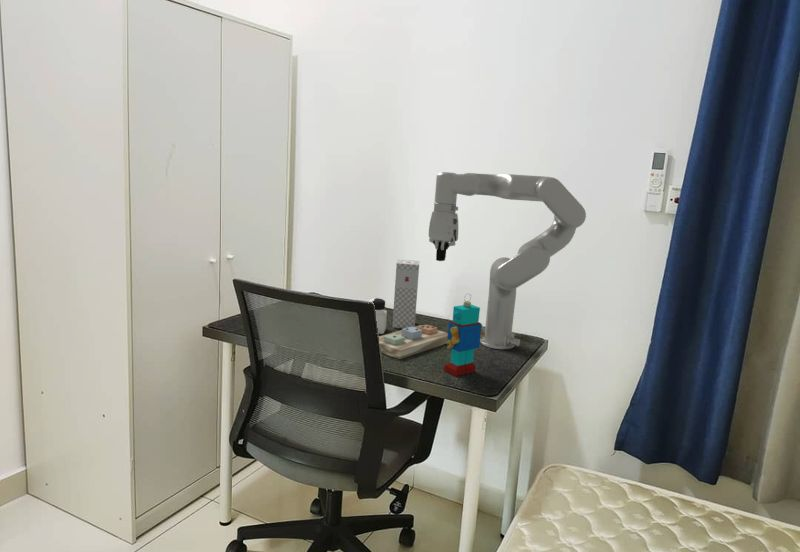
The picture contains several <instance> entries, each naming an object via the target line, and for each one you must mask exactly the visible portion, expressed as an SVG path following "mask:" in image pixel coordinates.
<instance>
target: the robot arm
mask: <svg viewBox="0 0 800 552" xmlns="http://www.w3.org/2000/svg"><path fill="white" fill-rule="evenodd" d="M458 195H463V196H467V197H471V196H475V195H477V196H489V197H491V196H492V197H496V198H501V199H503V200H504V199H505V200H511V201H513V200H514V201H527V202H528V201H530V202H541V203H542V202H543V204H544V205H545V206H546V207H547V208H548V210H549V211H550V212H551V213H552V214H553V222H552V224H551V225H550V226H549V227H548V228H547V229H545V230H544V231H543V232H542V233H540V234H538V235H537V236H535V237H533V238H532V239H530V240H529V241H527V242H525V243H524V244H523V245H521V246H520V248H519V249H518V250H517V251H518V252H517V255H515V256H514V257H512V258H509V257H506V256H505V257H500V258H497V259H495V261H493V263H492V264H491V267H490V271H489V283H488V284H489V288H488V300H487V309H486V320H485V329H484V334H483V338H482V339H480V344H481V345H482V346H484V347H487V348H489V349H496V350H511V349H513V348H514V347H515V346H516V347H519V346H520V345H521V339H518V338H515V333H513V324H514V316H515V315H514V313H515V308H516V307H515V306H516V297H517V288H519V287H521V286H522V285H524V284H525V283H528V282H529V281H530V280H532V279H534V278H535V277H537V276H538V275H540V274H542V273H543V272H544V271H545V270H546V269H547V268H548V266H549V265H550V262H551V257H553V256H555V255H556V254H557V253H558V252H560V251H561V250H564V248H566V247H567V245H569V243H570V242H571V241H572V239H573V238H574V237H575V236H574V235H575V233H576V230H577V228H579V227H581V226H582V225H583V224H584V223H585V221H586V217H587V214H586V209H585V208H584V206H583V205H582V204H581V202H580V201H578V200H577V198H576V197H575V196H574V195H573V194H572V193H571V192H570V191H569V190H568V189H567V187H566V186H565V185H564V184H563V183H562V182H561V181H560V180H559V179H557V178H556V177H552V176H551V177H550V176H545V175H544V176H540V175H529V174H528V175H526V174H513V173H512V174H509V173H508V174H507V173H506V174H505V173H504V174H489V173H475V172H466V173H455V172H446V171H440V172H438V173H437V174H436V179H435V194H434V202H433V211H432V213H431V215H430V220H429V226H428V237H429V239H428V240H429V242H430V243H432V244H433V245H434V246H435V249H436V254H435V255H436V256H435V260H436V261H438V262H444V261H446V257H447V250H448V249H449V248H450V247H455V246H456V242H457V241H458V240H459V217H458V213H456V212H457V211H459V207H458V206H457V199H458V198H457V197H458Z"/></svg>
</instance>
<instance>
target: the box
mask: <svg viewBox="0 0 800 552" xmlns="http://www.w3.org/2000/svg"><path fill="white" fill-rule="evenodd" d="M395 265H396V268H395V279H394V280H395V282H394V283H395V284H394V299H393V309H392V310H393V312H392V328H395V329H404V328H408V327H415V326H416V313H417V302H418V301H417V299H418V287H419V286H418V285H419V284H418V283H419V273H420V260H410V259H397V260H396V264H395Z"/></svg>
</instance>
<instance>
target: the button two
mask: <svg viewBox="0 0 800 552" xmlns="http://www.w3.org/2000/svg"><path fill="white" fill-rule="evenodd" d="M401 330H402V333H401V336H403V337H405V338H406V339H409V340H416V339H419V338H421V336H422V330H420V329H417V328H414V327H408V328H401Z"/></svg>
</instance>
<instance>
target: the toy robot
mask: <svg viewBox="0 0 800 552" xmlns="http://www.w3.org/2000/svg"><path fill="white" fill-rule="evenodd" d="M467 295H468V293H467V294H465V295H464V297H466V296H467ZM469 296H470V298H469V300H467V301H466V300H464V301H463V304H462V305H461V304H460V305H455V306H453V312H452V320H451V321H450V322H448V328H447V333H448V338H447V341H446V344H445V345H446V348H447V349H451V352H450V362H448V363H446V364H444V366H443V371H445V372H446V373H448V374H451V375H452V376H455V377H458V376H459V377H460V376H463V375H467V374H470V373H475V372H476V365H475V364H474V354H475V349H479V348H480V347H481V346H480V344H481V343H480V339H482V338H483V336H484V334H483V333H484V332H483V324H482V323H481V322H480V321H479V318H480V312H481V308H480V306H477V305H474V304H472V301H471V299H472V295H471V294H469Z"/></svg>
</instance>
